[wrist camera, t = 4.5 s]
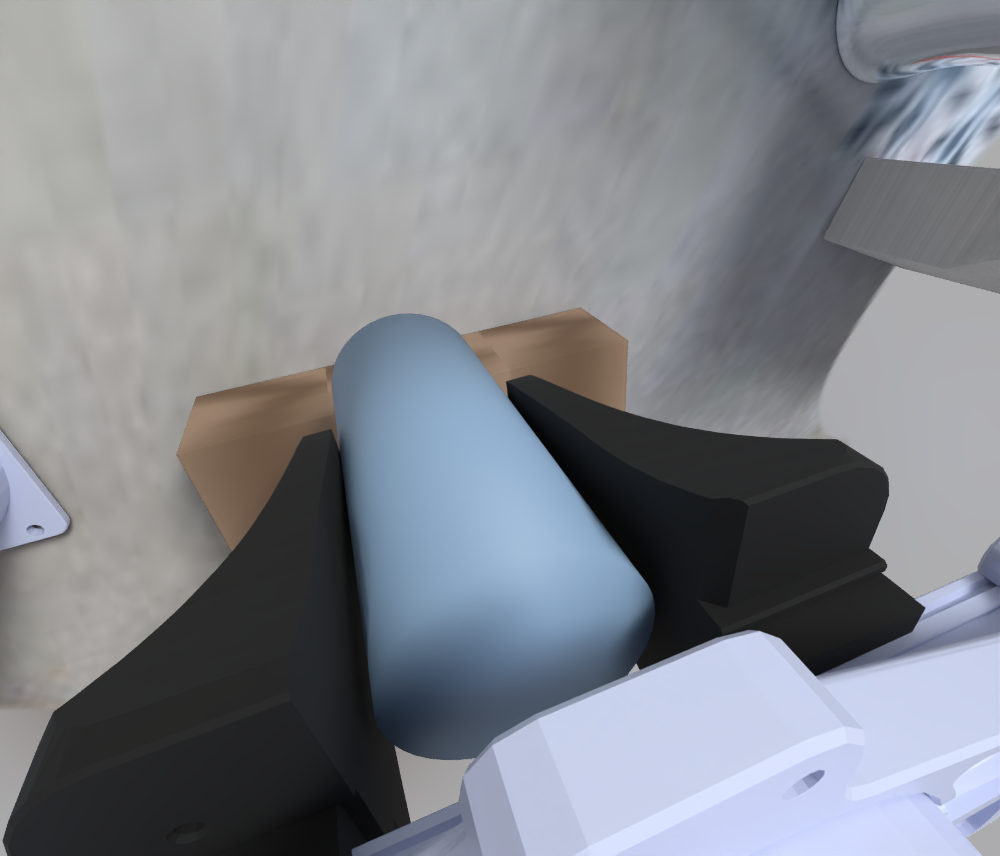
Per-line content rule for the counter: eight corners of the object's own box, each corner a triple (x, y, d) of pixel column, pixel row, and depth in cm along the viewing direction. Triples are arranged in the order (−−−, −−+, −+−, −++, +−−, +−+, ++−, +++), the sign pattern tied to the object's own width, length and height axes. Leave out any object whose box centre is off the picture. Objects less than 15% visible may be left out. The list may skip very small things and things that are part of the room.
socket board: (310, 624, 27) (312, 693, 24) (196, 396, 19) (176, 454, 16) (584, 531, 30) (618, 581, 27) (581, 307, 23) (627, 340, 19)
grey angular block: (901, 267, 28) (1144, 331, 20) (821, 238, 25) (1067, 299, 17) (944, 197, 26) (1228, 235, 18) (865, 157, 24) (1158, 182, 16)
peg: (355, 461, 15) (413, 794, 8) (310, 334, 13) (329, 632, 5) (485, 423, 16) (649, 690, 8) (464, 298, 13) (662, 514, 6)
